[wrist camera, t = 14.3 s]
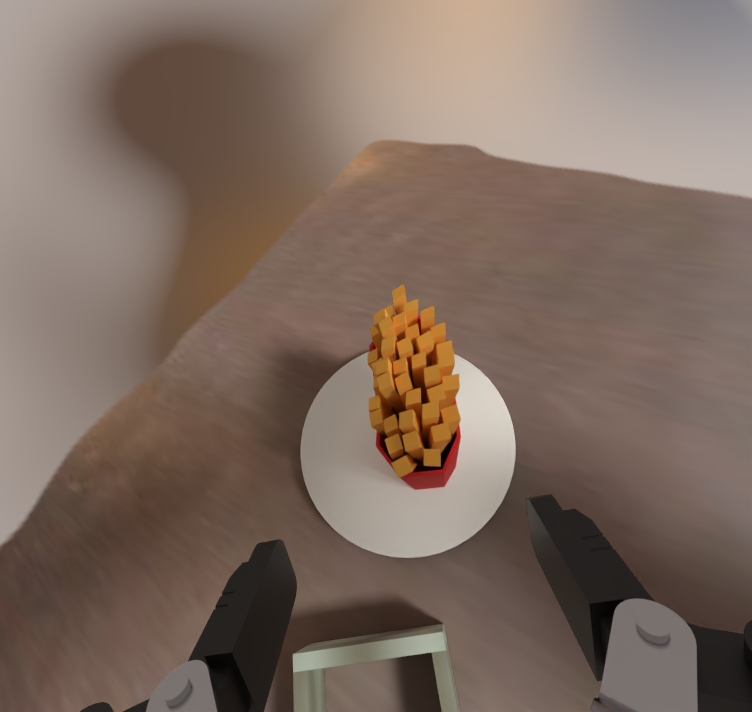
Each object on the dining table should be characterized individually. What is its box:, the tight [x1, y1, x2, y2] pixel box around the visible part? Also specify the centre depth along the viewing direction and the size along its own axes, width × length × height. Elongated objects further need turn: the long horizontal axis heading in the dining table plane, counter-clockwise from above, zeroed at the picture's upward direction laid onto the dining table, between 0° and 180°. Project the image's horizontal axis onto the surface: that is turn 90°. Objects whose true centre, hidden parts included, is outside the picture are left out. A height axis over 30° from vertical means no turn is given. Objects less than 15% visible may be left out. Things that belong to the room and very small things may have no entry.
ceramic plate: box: [300, 352, 515, 558], centre depth 28 cm, size 16×16×2 cm
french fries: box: [368, 284, 461, 490], centre depth 21 cm, size 9×4×13 cm, turn 4°
